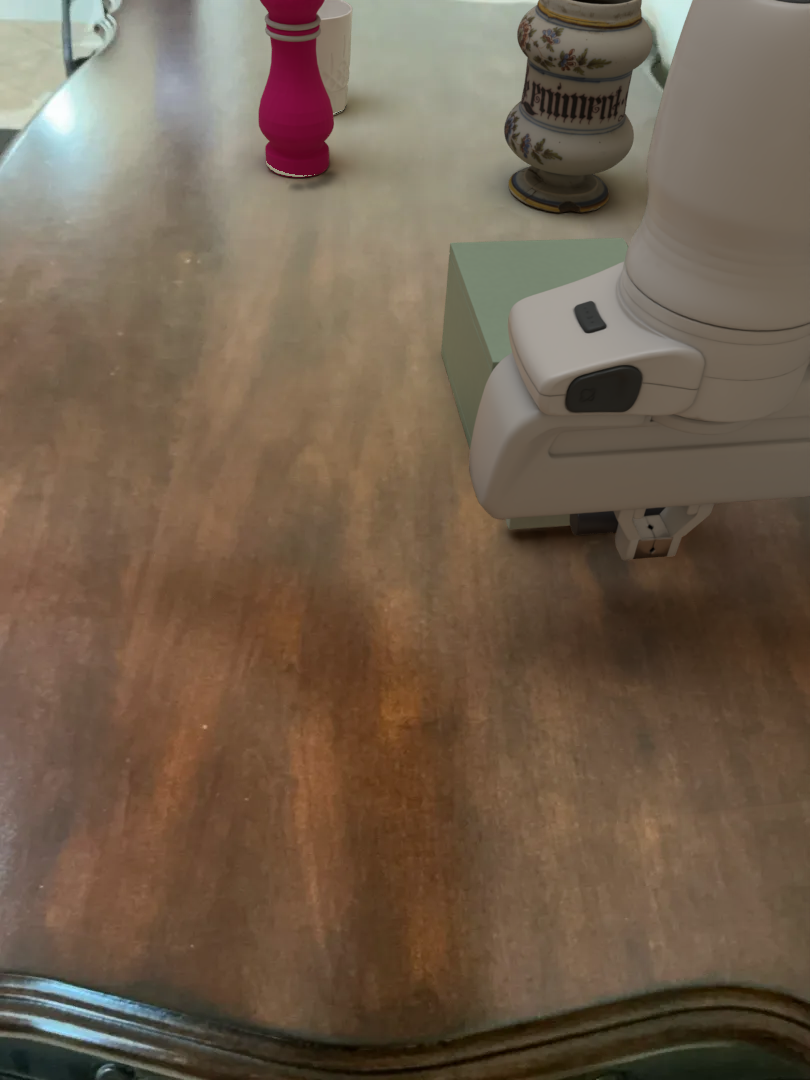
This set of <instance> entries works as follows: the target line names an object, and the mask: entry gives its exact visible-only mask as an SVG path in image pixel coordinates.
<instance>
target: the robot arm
mask: <svg viewBox="0 0 810 1080" xmlns="http://www.w3.org/2000/svg"><path fill="white" fill-rule="evenodd" d="M690 3H691V4H690V6H689V9H688V12H687V15H686V16H685V20H684V22H683V26H682V28H681V31H680V34H679V38H678V41H677V44H676V47H675V50H674V52H673V56H672V59H671V63H670V65H669V70H668V73H667V76H666V80H665V83H664V87H663V90H662V95H661V98H660V102H659V106H658V110H657V114H656V117H655V122H654V126H653V129H652V134H651V138H650V143H649V147H648V153H647V158H646V182H647V199H646V205H645V210H644V213H643V216H642V219H641V221H640V223H639V225H638V227H637V228H636V230H635V231H634V233H633V234H632V237H631V239H630V241H629V244H628V249H627V252H626V256H625V260H624V262H621V263H619V264H617V265H614V266H612V267H610V268H608V269H605V270H603V271H601V272H598V273H596V274H593V275H591V276H588V277H586V278H583V279H580V280H578V281H575V282H572V283H569V284H566V285H563V286H560V287H557V288H554V289H551V290H548V291H545V292H541V293H538V294H535V295H532V296H529V297H526V298H524V299H522V300H520V301H518V302H517V303H516V304H514V306H513V307H512V308H511V310H510V313H509V318H508V334H509V339H510V345H511V349H512V353H511V354H509V355H507V356H506V357H505V358H503V359H502V360H501V361H500V362H499V363H498V364H497V366H496V367H495V368H494V370H493V371H492V373H491V375H490V377H489V378H488V381H487V383H486V386H485V389H484V392H483V395H482V398H481V402H480V405H479V409H478V413H477V417H476V421H475V426H474V430H473V436H472V441H471V448H470V449H469V456H468V470H469V475H470V480H471V484H472V487H473V490H474V493H475V497H476V499H477V501H478V504H479V505H480V506H481V508H482V509H483V510H484V511H485V512H486V513H487V514H488V515H489V516H491V518H493V519H495V520H505V519H511V518H523V517H537V516H551V515H564V514H578V513H592V512H606V511H614V514H615V516H616V518H617V521H618V522H619V523H618V527H617V530H616V533H614V534H615V535H614V544H615V548H616V550H617V553H618V555H619V557H620V559H621V560H622V561H632V560H642V559H654V558H669V557H671V558H672V557H675V556H676V555H677V553H678V550H679V547H680V544H681V541H682V539H683V537H685V536H686V535H688V534H689V533H690V532H691V531H693V530H694V529H695V528H696V527H698V526H699V525H700V524H701V523H702V522H704V520H706V519H707V518H708V517H710V515H711V514H712V512H713V509H714V507H715V505H716V504H727V503H728V504H729V503H742V502H744V503H745V502H757V501H771V500H785V499H797V498H810V0H691V2H690ZM661 507H666V508H665V509H664V510H663V511H662V512H661V513H660V515H651V516H644V514H645V510H646V509H647V508H661Z"/></svg>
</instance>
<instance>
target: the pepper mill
mask: <svg viewBox="0 0 810 1080" xmlns="http://www.w3.org/2000/svg"><path fill="white" fill-rule="evenodd" d="M259 1H260V3H261V5H262V6H263V7H264V8H265V9H266V11H267V13H266V14H265V16H264V21H265V23H266V24H265V29H264V31H265V34H266V35H267V36H269V37H270V38H269V39H270V47H271V54H270V55H271V56H270V67H269V72H268V77H267V79H266V83H265V86H264V89H263V92H262V94H261V98H260V102H259V107H258V127H259V129H260V132H261V133H262V135H263V136H264V137H265V139H266V140H267V141H268V142H267V143H266V145H265V148H264V151H265V153H264V154H265V162H266V161H267V163H268V164H269V165H271V166H272V167H273V168H275V169H277V170H279V171H283V172H285V173H289V174H295V175H303V176H304V175H307V176H305V177H292V176H285V175H281V174H277V173H275V172H273V171H271V170H270V169H269V168H268V170H269V171H271V172H272V173H273V174H276V175H278V176H282V177H286V178H293V179H298V178H300V179H302V178H311V177H315V176H318V175H320V174H323V173H324V172H325V171H326V170H328V168H329V167H330V146H329V145H328V143H327V142H326V140H328V138H329V137H330V135H331V134H332V132H333V130H334V125H335V119H334V115H333V110H332V106H331V102H330V98H329V96H328V94H327V91H326V89H325V87H324V84H323V81H322V79H321V76H320V72H319V68H318V64H317V55H316V37H318V36H319V35H320V33H321V29H320V25H319V24H320V22H321V19H320V17H319V16H318V15H317V12H318V10H319V9H320V7H321V6H322V5H323V3H324V1H325V0H259ZM314 174H315V175H314ZM308 175H312V176H308Z"/></svg>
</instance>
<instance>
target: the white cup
mask: <svg viewBox="0 0 810 1080" xmlns="http://www.w3.org/2000/svg"><path fill="white" fill-rule="evenodd" d="M353 9H354V8H353V6H352V5H351V4H350V3H349V2H348V1H345V0H325V1H324V3H323V5H322V6H321V7H320V9H319V10H318V12H317V15H318V16H319V17H320V19H321V22H320V24H319V25H320V29H321V33H320V35H319V36H318V37H316V55H317V64H318V68H319V72H320V76H321V79H322V81H323V84H324V87H325V89H326V91H327V94H328V96H329V98H330V102H331V106H332V110H333V113H335V112H338V111H340V110H343V109H344V108H345V106H346V104H347V105H348V95H349V93H348V92H349V80H350V67H351V52H352V31H353V29H352V28H353ZM346 107H347V106H346ZM345 109H346V108H345ZM342 112H343V111H341V112H339V113H337V114H334V115H333V116H336V115H338V114H341V113H342Z"/></svg>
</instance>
